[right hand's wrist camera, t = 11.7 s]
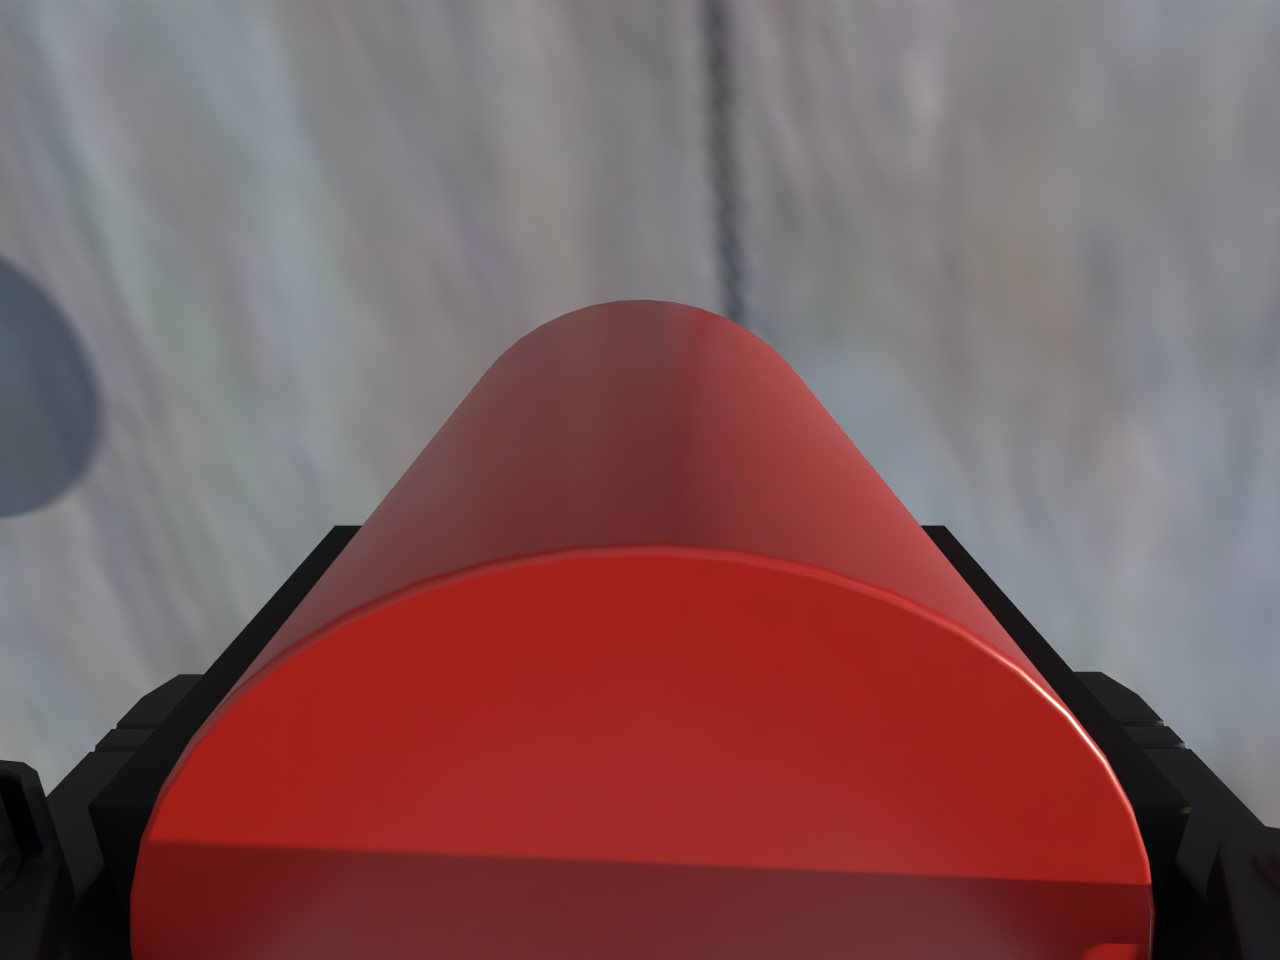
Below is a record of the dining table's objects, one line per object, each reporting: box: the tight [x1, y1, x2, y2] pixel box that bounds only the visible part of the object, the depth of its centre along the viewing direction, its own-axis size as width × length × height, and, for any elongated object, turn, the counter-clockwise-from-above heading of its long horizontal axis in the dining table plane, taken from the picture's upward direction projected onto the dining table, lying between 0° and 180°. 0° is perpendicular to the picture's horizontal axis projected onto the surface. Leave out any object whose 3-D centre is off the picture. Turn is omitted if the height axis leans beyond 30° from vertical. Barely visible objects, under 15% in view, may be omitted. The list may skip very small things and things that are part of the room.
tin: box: [130, 300, 1155, 960], centre depth 13 cm, size 9×9×12 cm
